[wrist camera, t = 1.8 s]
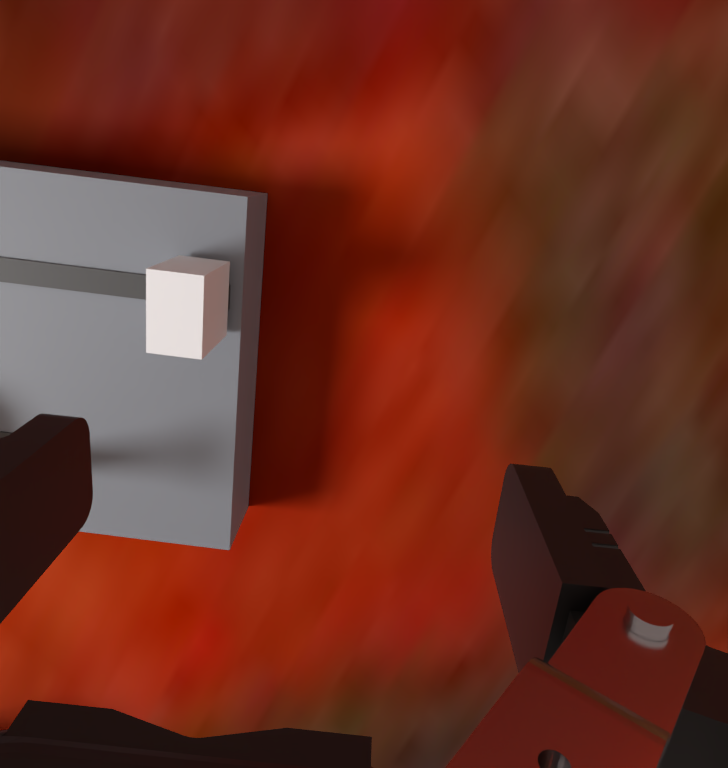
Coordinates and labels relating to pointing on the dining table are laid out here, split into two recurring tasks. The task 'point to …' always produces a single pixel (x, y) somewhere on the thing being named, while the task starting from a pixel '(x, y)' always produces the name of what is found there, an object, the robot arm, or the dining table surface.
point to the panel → (132, 343)
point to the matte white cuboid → (186, 306)
